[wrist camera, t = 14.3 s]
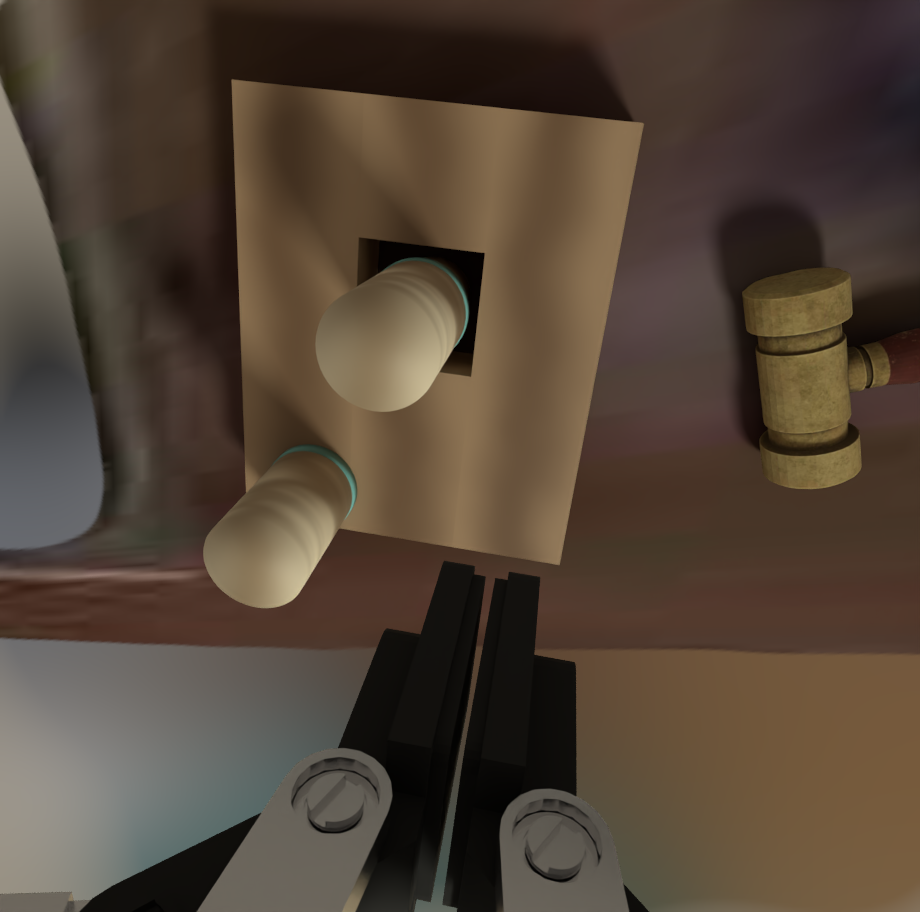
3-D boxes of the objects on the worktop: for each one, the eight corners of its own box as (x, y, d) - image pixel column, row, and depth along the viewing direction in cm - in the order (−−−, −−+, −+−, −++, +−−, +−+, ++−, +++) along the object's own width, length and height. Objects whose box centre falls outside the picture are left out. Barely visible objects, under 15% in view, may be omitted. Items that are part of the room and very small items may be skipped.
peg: (483, 252, 36) (445, 294, 25) (474, 344, 38) (435, 421, 27) (391, 242, 36) (314, 278, 25) (387, 333, 38) (314, 404, 27)
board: (635, 125, 32) (667, 115, 22) (560, 528, 42) (556, 662, 31) (267, 86, 34) (125, 58, 23) (274, 482, 43) (174, 594, 32)
